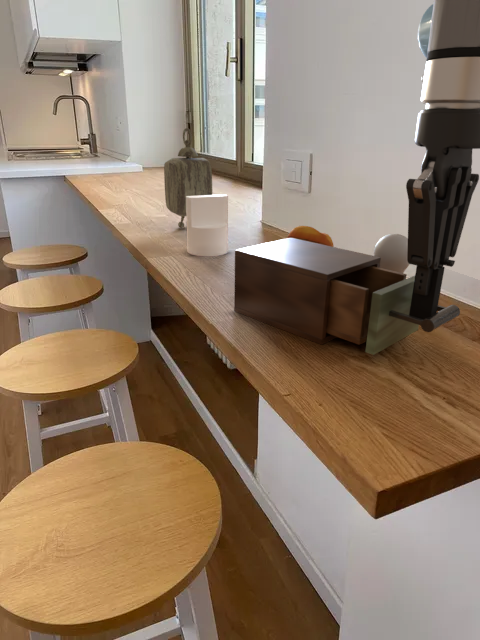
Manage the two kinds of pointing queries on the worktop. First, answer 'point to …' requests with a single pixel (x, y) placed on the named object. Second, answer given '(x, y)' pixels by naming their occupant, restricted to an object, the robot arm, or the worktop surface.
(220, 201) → the base with upright slab
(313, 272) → the cabinet
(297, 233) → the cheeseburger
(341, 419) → the worktop surface
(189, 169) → the cowbell
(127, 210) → the worktop surface
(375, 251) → the lightbulb
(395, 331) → the drawer
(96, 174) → the worktop surface
